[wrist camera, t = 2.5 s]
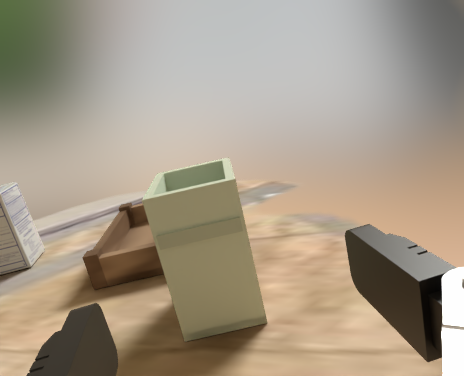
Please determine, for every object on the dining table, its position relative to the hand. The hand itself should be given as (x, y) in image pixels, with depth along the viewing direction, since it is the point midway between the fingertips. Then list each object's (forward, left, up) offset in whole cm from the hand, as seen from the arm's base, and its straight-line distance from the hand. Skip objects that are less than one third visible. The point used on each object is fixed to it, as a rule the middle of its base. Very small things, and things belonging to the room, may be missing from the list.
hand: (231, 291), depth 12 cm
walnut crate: (-7, +24, -8) cm, 26 cm away
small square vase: (-2, +11, -8) cm, 14 cm away
